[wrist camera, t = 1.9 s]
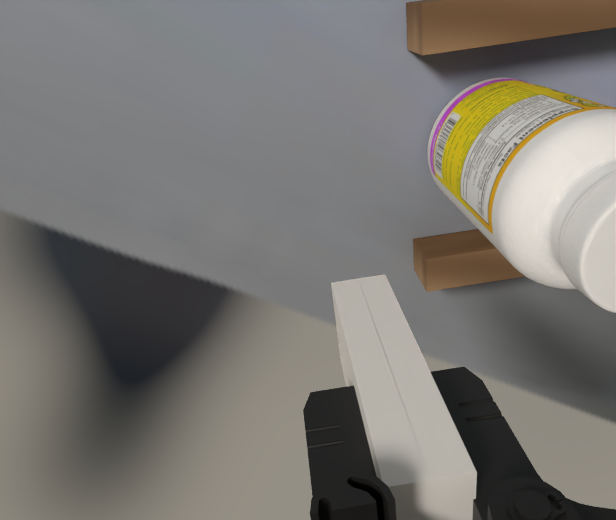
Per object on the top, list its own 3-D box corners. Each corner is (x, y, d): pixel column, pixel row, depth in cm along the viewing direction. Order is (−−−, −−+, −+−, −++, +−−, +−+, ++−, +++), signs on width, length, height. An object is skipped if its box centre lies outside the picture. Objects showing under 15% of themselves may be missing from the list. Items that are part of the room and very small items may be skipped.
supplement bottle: (566, 158, 27) (788, 275, 16) (456, 223, 28) (587, 375, 17) (521, 45, 24) (753, 89, 13) (401, 123, 25) (515, 226, 14)
